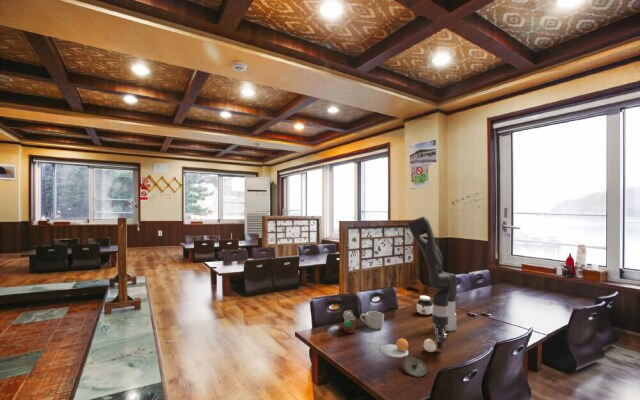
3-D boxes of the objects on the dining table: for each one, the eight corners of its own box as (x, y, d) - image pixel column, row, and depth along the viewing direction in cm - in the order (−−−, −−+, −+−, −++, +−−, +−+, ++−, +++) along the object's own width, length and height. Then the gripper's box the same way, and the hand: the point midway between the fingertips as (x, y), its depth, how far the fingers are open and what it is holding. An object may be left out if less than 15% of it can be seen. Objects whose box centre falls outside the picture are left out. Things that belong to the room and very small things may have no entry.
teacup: (384, 325, 190) (385, 312, 190) (382, 332, 180) (382, 318, 180) (362, 322, 195) (362, 309, 195) (358, 328, 185) (358, 314, 185)
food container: (341, 326, 187) (341, 309, 187) (351, 326, 187) (351, 309, 188) (344, 335, 175) (345, 316, 175) (355, 334, 175) (355, 316, 175)
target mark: (403, 344, 164) (403, 344, 164) (412, 357, 150) (412, 357, 150) (377, 344, 163) (377, 344, 163) (383, 357, 149) (383, 356, 149)
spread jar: (414, 313, 215) (415, 296, 215) (423, 310, 223) (423, 293, 223) (431, 318, 206) (431, 300, 207) (439, 314, 214) (439, 297, 214)
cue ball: (427, 334, 160) (419, 342, 160) (432, 339, 154) (424, 348, 154) (435, 342, 160) (427, 351, 160) (440, 348, 154) (432, 356, 154)
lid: (422, 365, 142) (422, 354, 142) (430, 377, 132) (431, 365, 133) (399, 365, 142) (399, 354, 142) (406, 377, 132) (406, 365, 132)
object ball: (398, 334, 160) (392, 344, 160) (401, 338, 154) (395, 349, 154) (408, 340, 160) (402, 350, 160) (412, 345, 154) (405, 356, 154)
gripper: (453, 318, 151) (452, 354, 151) (442, 309, 164) (441, 343, 164) (438, 318, 151) (437, 354, 151) (427, 309, 164) (427, 342, 164)
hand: (439, 348), depth 157 cm, fingers closed
